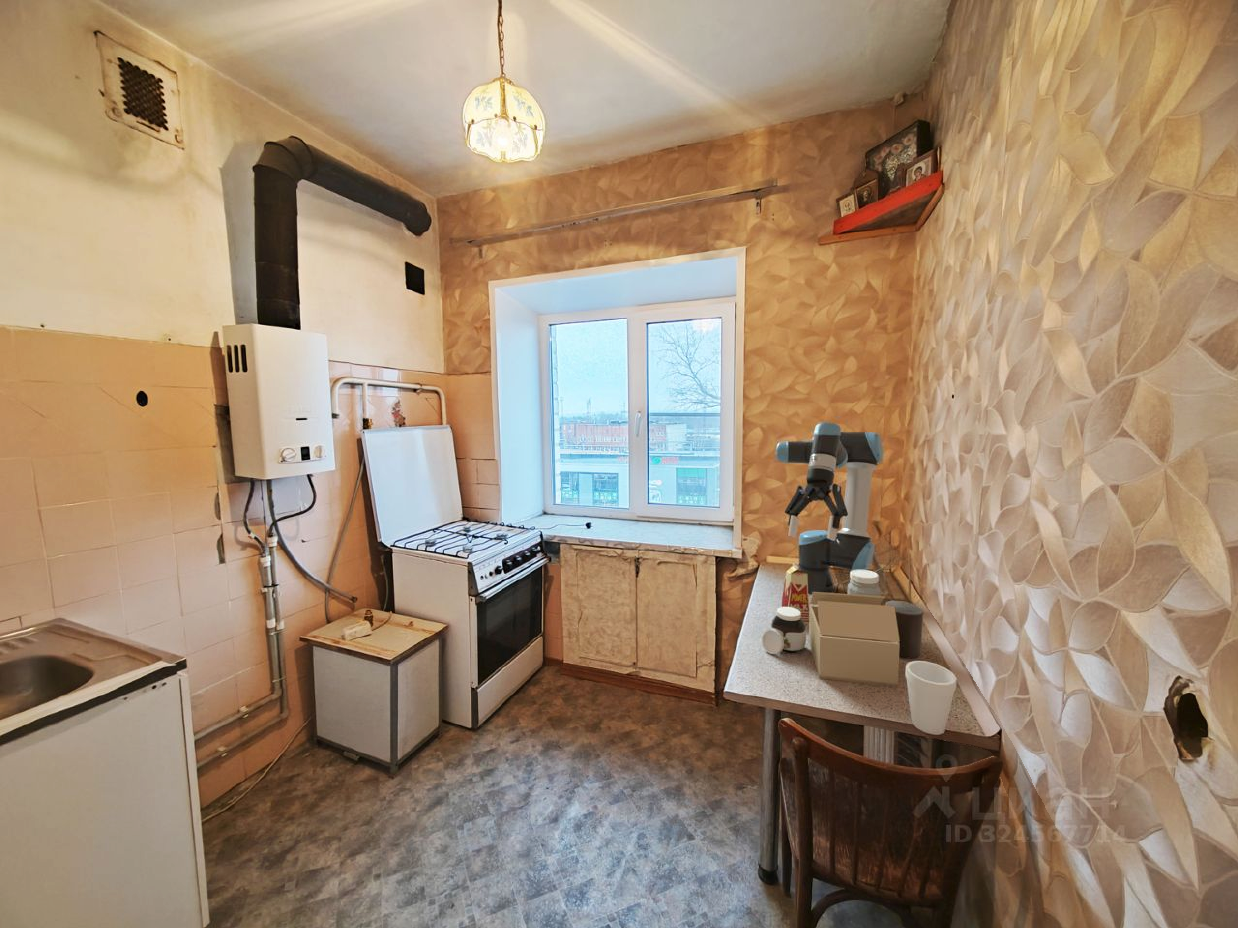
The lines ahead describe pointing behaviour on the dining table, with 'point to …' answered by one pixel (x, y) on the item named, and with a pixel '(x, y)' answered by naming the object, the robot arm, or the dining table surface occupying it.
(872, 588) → the jar
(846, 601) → the back flap
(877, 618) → the front flap
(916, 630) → the pillar candle
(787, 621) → the spread jar
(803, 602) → the milk carton
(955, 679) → the foam cup
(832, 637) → the carton
